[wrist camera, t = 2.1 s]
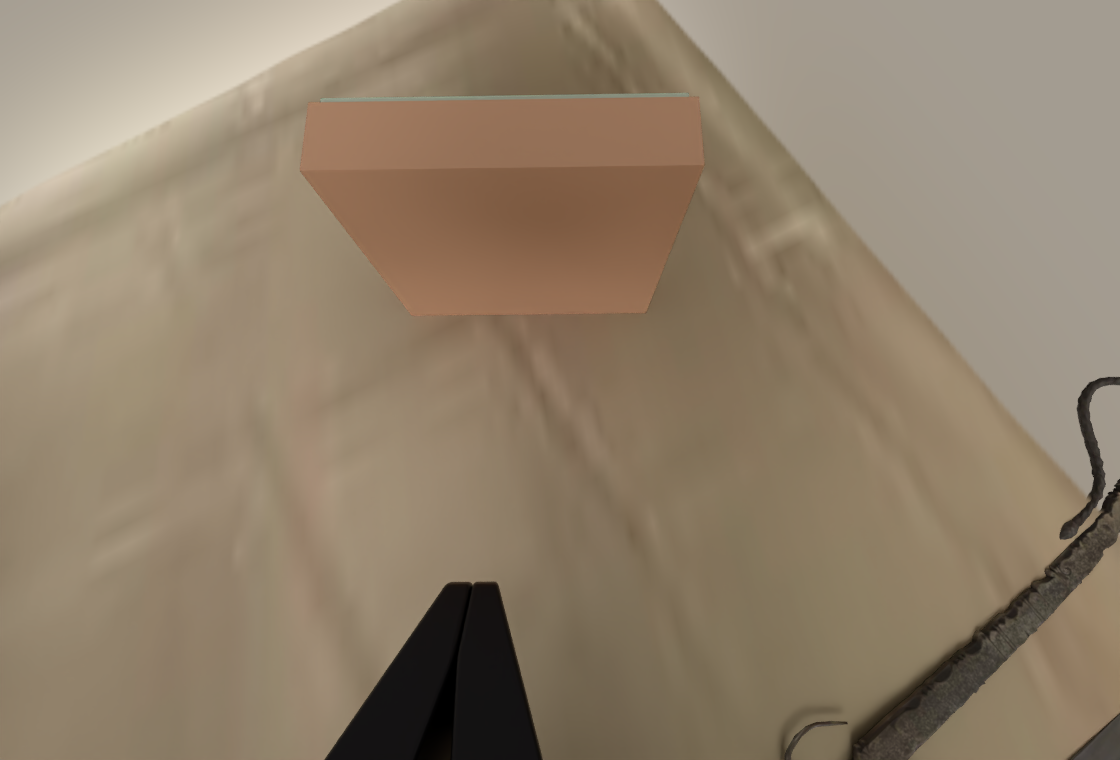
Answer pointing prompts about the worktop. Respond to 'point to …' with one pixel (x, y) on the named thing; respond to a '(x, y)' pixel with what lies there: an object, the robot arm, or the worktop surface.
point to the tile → (510, 195)
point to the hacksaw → (1006, 630)
